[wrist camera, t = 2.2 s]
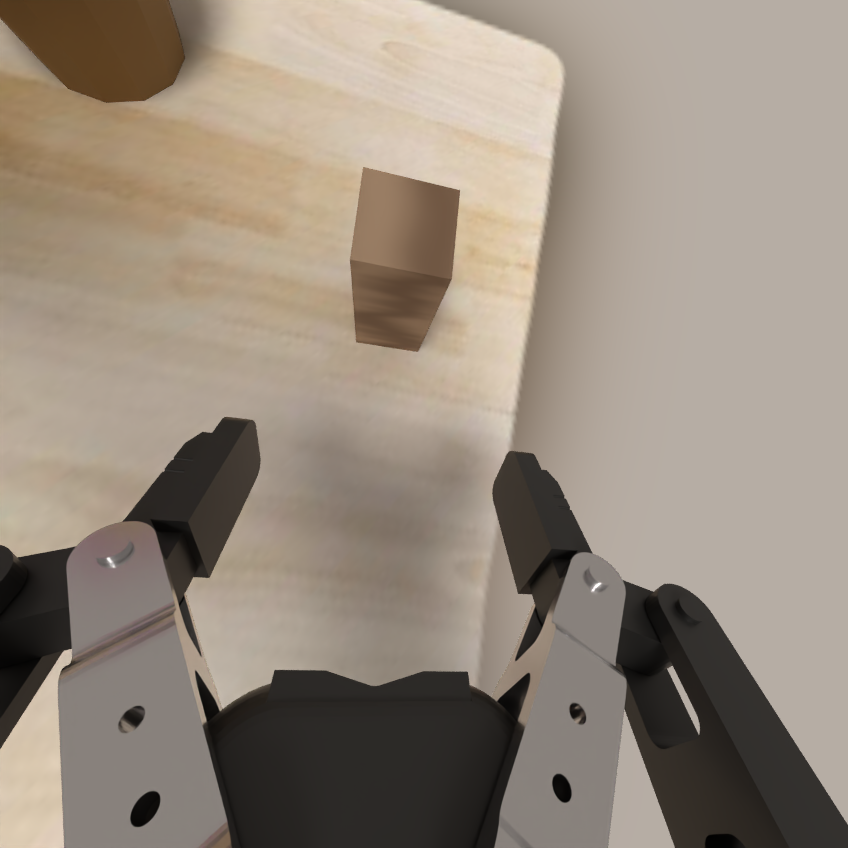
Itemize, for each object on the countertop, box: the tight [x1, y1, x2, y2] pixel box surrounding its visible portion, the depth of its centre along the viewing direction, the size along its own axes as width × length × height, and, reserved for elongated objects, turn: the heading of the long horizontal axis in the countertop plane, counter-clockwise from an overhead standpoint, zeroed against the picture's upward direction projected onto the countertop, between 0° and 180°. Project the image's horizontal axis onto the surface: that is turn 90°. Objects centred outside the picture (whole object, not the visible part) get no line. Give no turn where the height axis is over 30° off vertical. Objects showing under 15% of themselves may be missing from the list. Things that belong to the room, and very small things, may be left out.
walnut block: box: [350, 167, 460, 352], centre depth 22 cm, size 5×5×11 cm
